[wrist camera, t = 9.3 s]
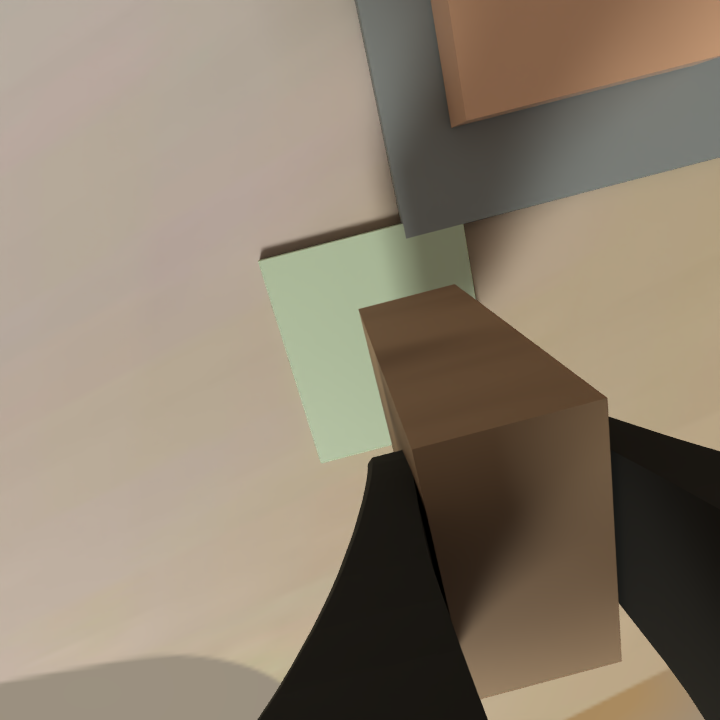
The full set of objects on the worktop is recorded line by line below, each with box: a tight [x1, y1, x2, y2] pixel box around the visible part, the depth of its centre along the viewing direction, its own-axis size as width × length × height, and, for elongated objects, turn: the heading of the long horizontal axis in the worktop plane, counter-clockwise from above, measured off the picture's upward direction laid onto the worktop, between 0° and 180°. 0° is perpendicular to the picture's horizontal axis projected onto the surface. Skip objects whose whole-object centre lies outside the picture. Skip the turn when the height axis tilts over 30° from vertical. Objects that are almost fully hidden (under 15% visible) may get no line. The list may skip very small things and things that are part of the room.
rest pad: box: [258, 223, 476, 463], centre depth 18 cm, size 8×7×1 cm
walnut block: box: [358, 284, 622, 699], centre depth 10 cm, size 5×3×7 cm, turn 14°
